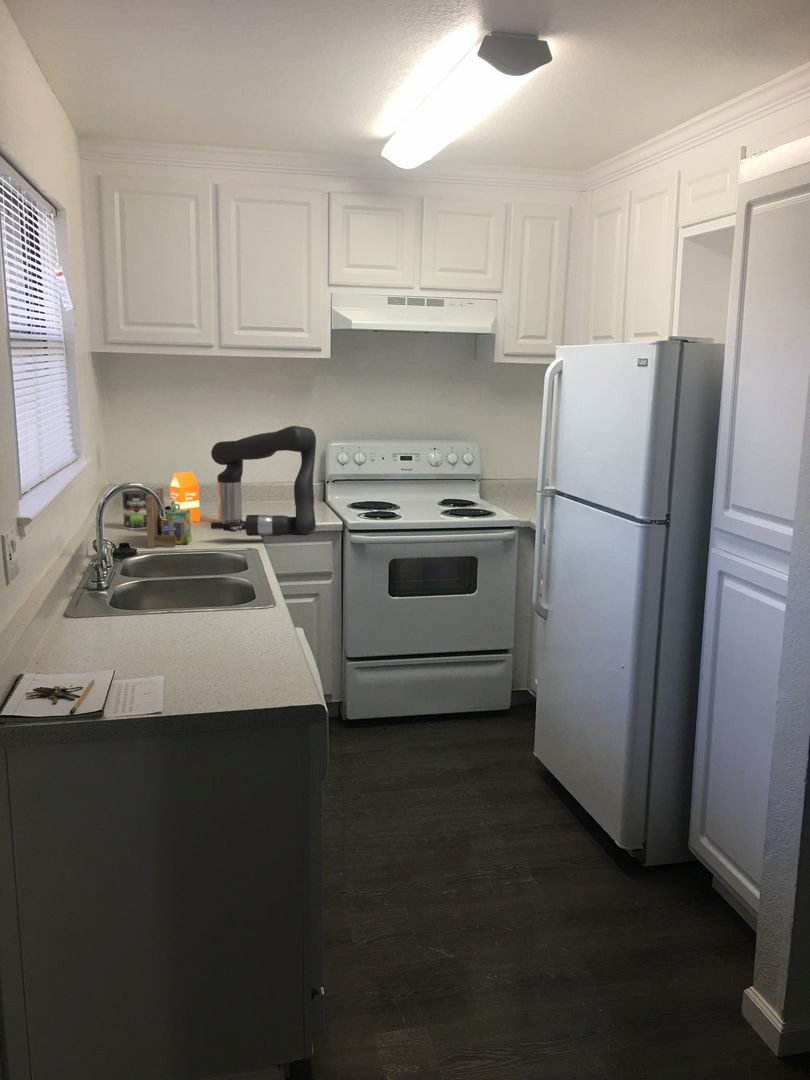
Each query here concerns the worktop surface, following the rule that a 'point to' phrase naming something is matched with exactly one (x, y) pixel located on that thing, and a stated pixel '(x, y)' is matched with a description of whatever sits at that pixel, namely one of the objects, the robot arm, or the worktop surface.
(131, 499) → the coffee can
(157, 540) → the display bay
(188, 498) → the orange juice
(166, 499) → the character mug
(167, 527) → the chalk box
